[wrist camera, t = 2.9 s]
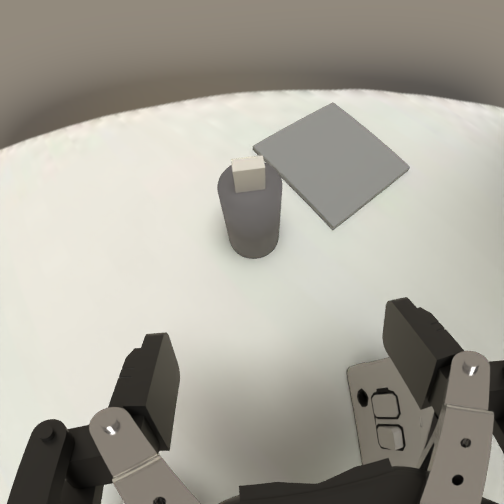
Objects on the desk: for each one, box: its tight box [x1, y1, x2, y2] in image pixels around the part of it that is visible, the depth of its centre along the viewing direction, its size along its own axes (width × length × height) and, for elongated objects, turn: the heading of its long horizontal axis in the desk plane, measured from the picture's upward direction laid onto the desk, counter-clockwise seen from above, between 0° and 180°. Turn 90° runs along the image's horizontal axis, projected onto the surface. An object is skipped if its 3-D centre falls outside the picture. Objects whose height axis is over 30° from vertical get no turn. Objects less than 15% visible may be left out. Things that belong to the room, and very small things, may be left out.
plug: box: [218, 155, 282, 259], centre depth 24 cm, size 4×4×10 cm
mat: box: [253, 103, 410, 230], centre depth 32 cm, size 12×12×1 cm
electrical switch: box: [347, 357, 434, 468], centre depth 19 cm, size 9×5×9 cm, turn 9°
